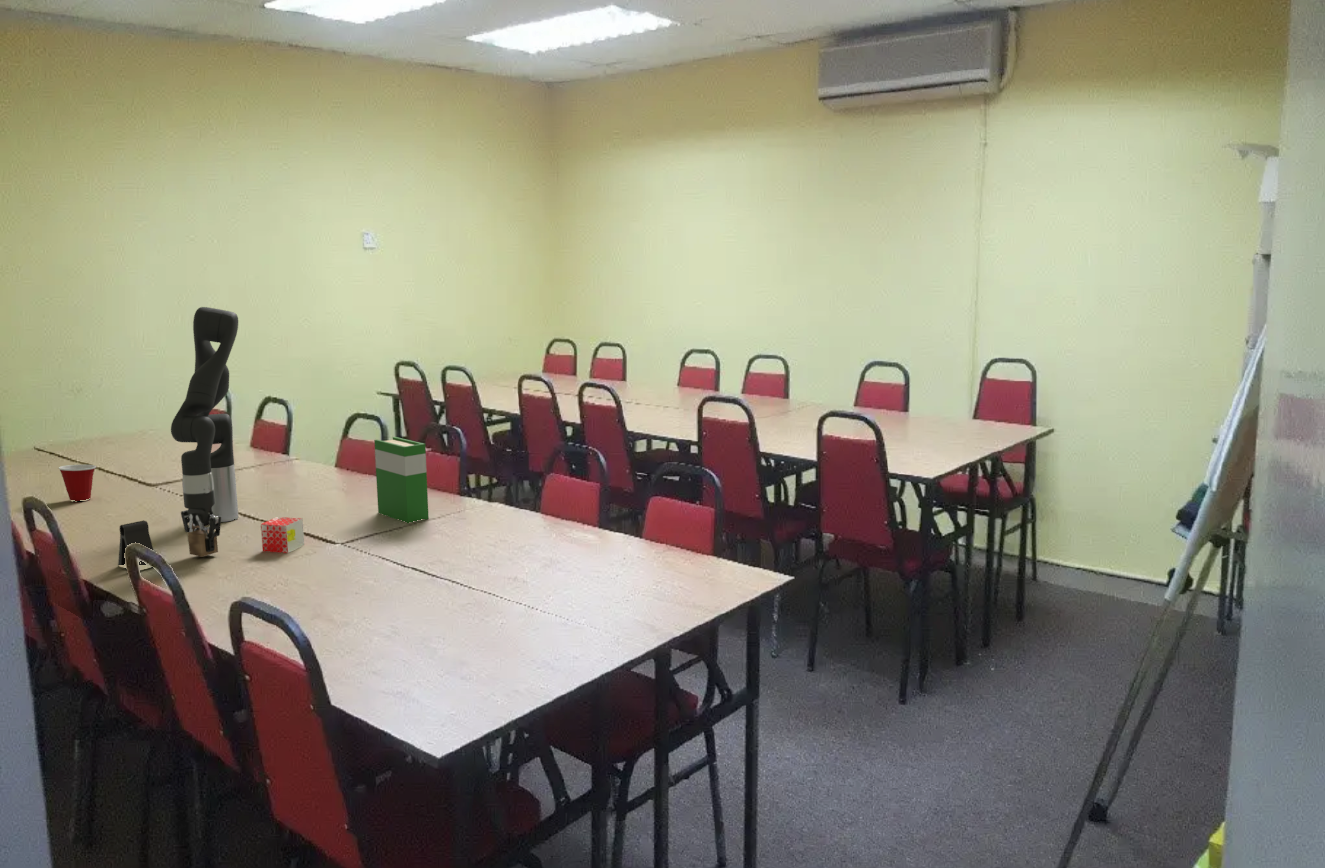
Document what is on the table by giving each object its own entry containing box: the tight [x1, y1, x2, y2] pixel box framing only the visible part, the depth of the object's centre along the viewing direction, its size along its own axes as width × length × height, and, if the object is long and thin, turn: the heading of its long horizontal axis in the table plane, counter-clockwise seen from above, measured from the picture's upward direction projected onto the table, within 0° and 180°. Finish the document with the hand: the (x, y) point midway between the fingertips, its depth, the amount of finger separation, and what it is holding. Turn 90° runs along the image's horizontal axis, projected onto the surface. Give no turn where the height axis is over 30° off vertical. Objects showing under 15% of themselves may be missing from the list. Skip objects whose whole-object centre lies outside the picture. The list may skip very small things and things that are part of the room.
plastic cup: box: [58, 464, 97, 501], centre depth 317 cm, size 11×11×12 cm
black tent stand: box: [117, 520, 154, 570], centre depth 247 cm, size 9×6×12 cm, turn 53°
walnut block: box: [187, 529, 219, 558], centre depth 256 cm, size 5×5×6 cm
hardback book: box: [374, 436, 430, 524], centre depth 297 cm, size 18×7×24 cm, turn 46°
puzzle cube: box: [260, 516, 305, 554], centre depth 264 cm, size 8×8×8 cm
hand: (203, 549), depth 257 cm, fingers closed on walnut block, 5 cm apart
